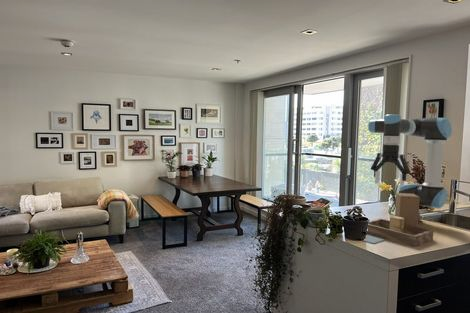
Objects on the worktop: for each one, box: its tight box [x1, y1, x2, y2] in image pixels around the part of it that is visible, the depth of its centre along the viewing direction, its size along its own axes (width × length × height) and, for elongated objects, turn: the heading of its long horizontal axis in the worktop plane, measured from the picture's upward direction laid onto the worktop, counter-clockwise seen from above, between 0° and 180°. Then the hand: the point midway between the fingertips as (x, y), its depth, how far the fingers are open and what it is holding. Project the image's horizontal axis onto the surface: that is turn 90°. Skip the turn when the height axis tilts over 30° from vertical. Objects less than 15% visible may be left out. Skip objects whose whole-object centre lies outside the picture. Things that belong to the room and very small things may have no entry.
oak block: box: [389, 215, 404, 233], centre depth 181 cm, size 5×5×10 cm
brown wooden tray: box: [366, 218, 434, 248], centre depth 181 cm, size 19×29×5 cm, turn 36°
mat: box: [362, 234, 385, 245], centre depth 174 cm, size 10×10×1 cm
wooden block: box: [394, 192, 420, 227], centre depth 194 cm, size 10×10×20 cm
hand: (388, 185), depth 176 cm, fingers open, 13 cm apart
